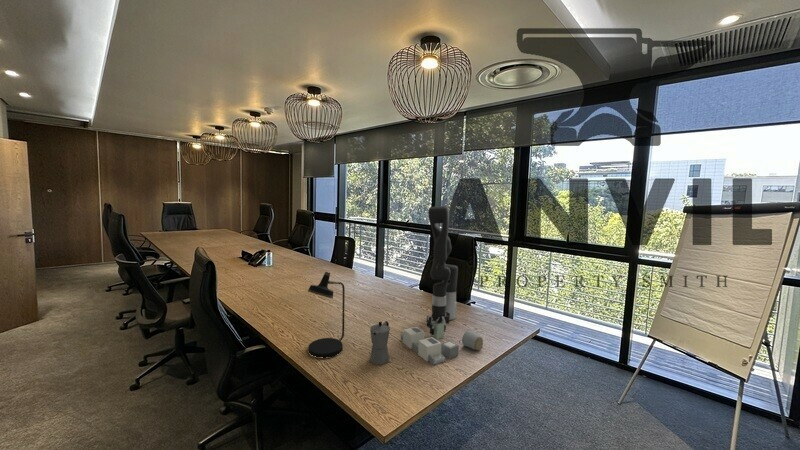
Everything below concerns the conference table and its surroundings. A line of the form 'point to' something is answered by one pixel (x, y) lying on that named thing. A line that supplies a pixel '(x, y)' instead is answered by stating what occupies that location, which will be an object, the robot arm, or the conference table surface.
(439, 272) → the robot arm
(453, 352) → the block
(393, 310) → the conference table surface
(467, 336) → the ceramic mug
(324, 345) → the lamp
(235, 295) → the conference table surface
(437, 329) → the module
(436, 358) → the rail
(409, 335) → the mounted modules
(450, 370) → the conference table surface
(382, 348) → the coffeepot
